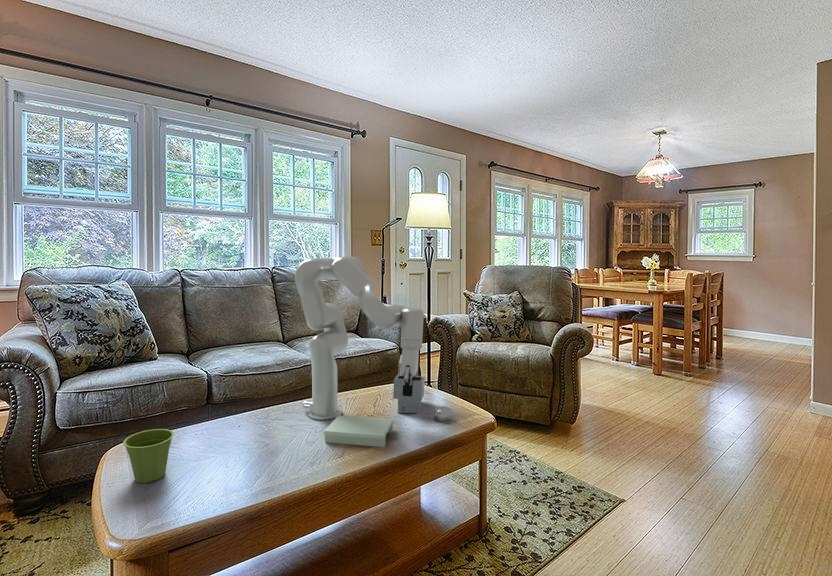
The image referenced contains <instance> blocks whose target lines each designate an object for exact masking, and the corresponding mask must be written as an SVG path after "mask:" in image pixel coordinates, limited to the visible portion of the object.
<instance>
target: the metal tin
mask: <svg viewBox="0 0 832 576" xmlns="http://www.w3.org/2000/svg"><path fill="white" fill-rule="evenodd" d="M433 413H434V414H433V420H434V421H435V422H436V423H437V422H438V423H440V424H441V423H443V422H446V423H449V422H451V408H449V407H447V406H437V407H435V408H434V410H433ZM448 421H449V422H448ZM443 424H444V423H443Z"/></svg>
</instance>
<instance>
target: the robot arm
mask: <svg viewBox="0 0 832 576" xmlns="http://www.w3.org/2000/svg"><path fill="white" fill-rule="evenodd" d="M364 271H365V265H364V262H363V261H362V260H361V259H360V258H359V257H357V256H341V257H322V258H321V257H318V258H317V257H314V258H313V257H312V258H307V259H305V260H304V261H302V262H301V263H300V264H299V265H298V266H297V268H296V269H295V273H294V282H295V283H294V284H295V285H296V289H297V291H298V295H299V298H300V301H301V302H300V303H301V306H302V310H303V314H304V317H305V318H304V319H305V321H306V324H307V326H308V328H309V329H310V330H312V331H319V330H320V331H321V330H323V332H320V333H318V334H316V335H314V337H312V338H311V340H310V341H309V346H308V349H309V355H310V360H311V385H312V386H311V389H312V390H311V392H312V394H311V401H303V403H302V407H303V409H308V410H309V411H307V412H308V418H311V419H314V420H319V421H320V420H322V421H325V420H331V419H336V418H337V416H338V415H342V412H343V410H342V408H341V407H339V406H338V365H337V361H336V358H335V355H338V354H340V353H342V352H343V351H345V350H346V349H347V347H348V345H349V337H348V333H347V328H346V325H345V321H344V317H343V314H342V312H341V309H340V308H339V307H338V306H337V305H336V304H334V303H331V302H326V300H325V298H324V294H323V291H322V288H321V287H320V286H319V285H318V282H319V281H327V280H328V281H329V280H338V281H339V282H341V284H342V285H343V286H344V287H345V288H347V289H348V290H349V291H350V292H351V293H352V294H353V296H354V297H356V299H357V302H358V305H359V307H360V308H361V310H362V312H363V313H364V314H365V316H366V317H367V318H368V319H369V320H370V321H371V322H373V324H375V325H376V326H377V327H379V328H381V329H383V330H389V329H392V328H394V327H397V326H401V330H400V331H401V333H400V336H401V337H400V348H401V349H402V351H401V355H402V358H401V369H400V376H403V375H404V382H403V396H409V397H411V396H412V377H414V376H415V374H416V372H417V369H418V370H419V356H420V355H419V354H420V353H419V352H420V350H421V349H423V334H424V333H423V331H424V316H425V315H424V313H425V312H424V310H423V309H422V308H419V307H407V306H403V305H401V304H400V305H399V304H392V305H388V306H387V305H386V304H384V303H383V301H381V300H380V299H379V298H378V296H377V295H376V293H375V292H374V287H375V281H374V280H373V279H372V278H371V277H370V276H369V275H368V274H367V273H366V272H364ZM404 373H405V374H404ZM409 375H411V376H409ZM409 378H410V379H409Z"/></svg>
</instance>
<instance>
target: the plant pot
mask: <svg viewBox="0 0 832 576" xmlns="http://www.w3.org/2000/svg"><path fill="white" fill-rule="evenodd" d="M174 436H175V432H174V431H172V430H170V429H166V428H156V429H155V428H153V429H148V430H143V431H142V430H141V431H139V432H136V433H134V434H131V435H130V436H127V437H126V438H125V439H124V440H123V441H122V442H123V444H122V445H123V446H124V447H125V448H126V451H127V453H128V456H129V461H130V465H131V468H132V474H133V477H134V480H135V481H136V482H137V483H139V484H148V482H149V483H151V482H153V481H158V480H160V479H162V478H163V477H165V475H166V471H167V465H168V459H169V458H168V457H169V452H170V446H171V444H172V438H173V437H174Z"/></svg>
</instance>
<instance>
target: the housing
mask: <svg viewBox="0 0 832 576" xmlns="http://www.w3.org/2000/svg"><path fill="white" fill-rule="evenodd" d="M409 376H411V375H409ZM409 379H410V378H409ZM425 379H426V377H425V376H421V375H418V376H414V377H412V396H411V397H409V396H403V382H404V375H403V376H400V374H398V373H397V375H396V376H395V377H394V379H393V393H392V395H393V396H392V398H393V399H394V400H398V399H402V400H411V401H417V402H421V403H422V401H423V399H424V397H425V381H426V380H425Z"/></svg>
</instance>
